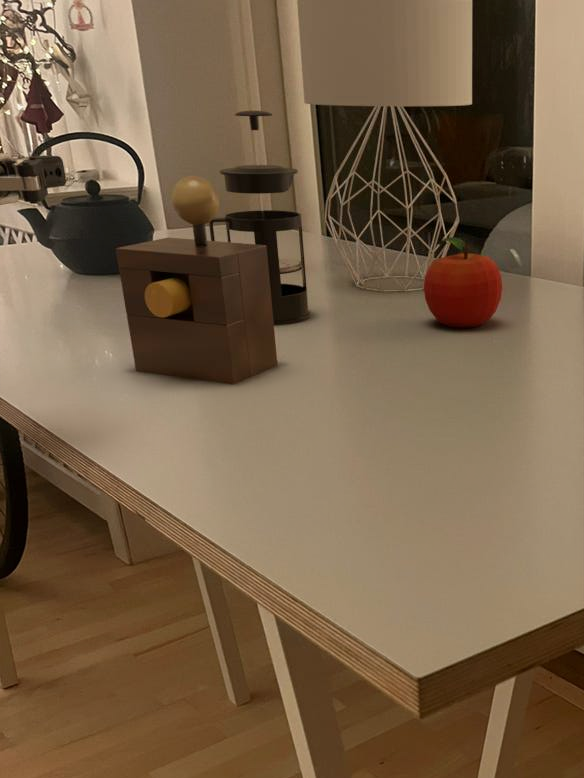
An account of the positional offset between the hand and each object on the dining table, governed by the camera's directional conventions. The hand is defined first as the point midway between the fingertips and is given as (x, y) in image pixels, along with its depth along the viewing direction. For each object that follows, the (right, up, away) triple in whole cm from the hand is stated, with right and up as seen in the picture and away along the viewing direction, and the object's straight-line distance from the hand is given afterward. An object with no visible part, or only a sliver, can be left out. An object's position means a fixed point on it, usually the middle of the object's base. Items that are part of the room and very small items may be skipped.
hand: (57, 170), depth 80 cm
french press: (+8, +2, +44) cm, 45 cm away
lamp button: (+4, -7, +16) cm, 18 cm away
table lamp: (+22, +14, +64) cm, 69 cm away
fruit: (+32, +1, +42) cm, 53 cm away
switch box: (+6, -10, +23) cm, 25 cm away
